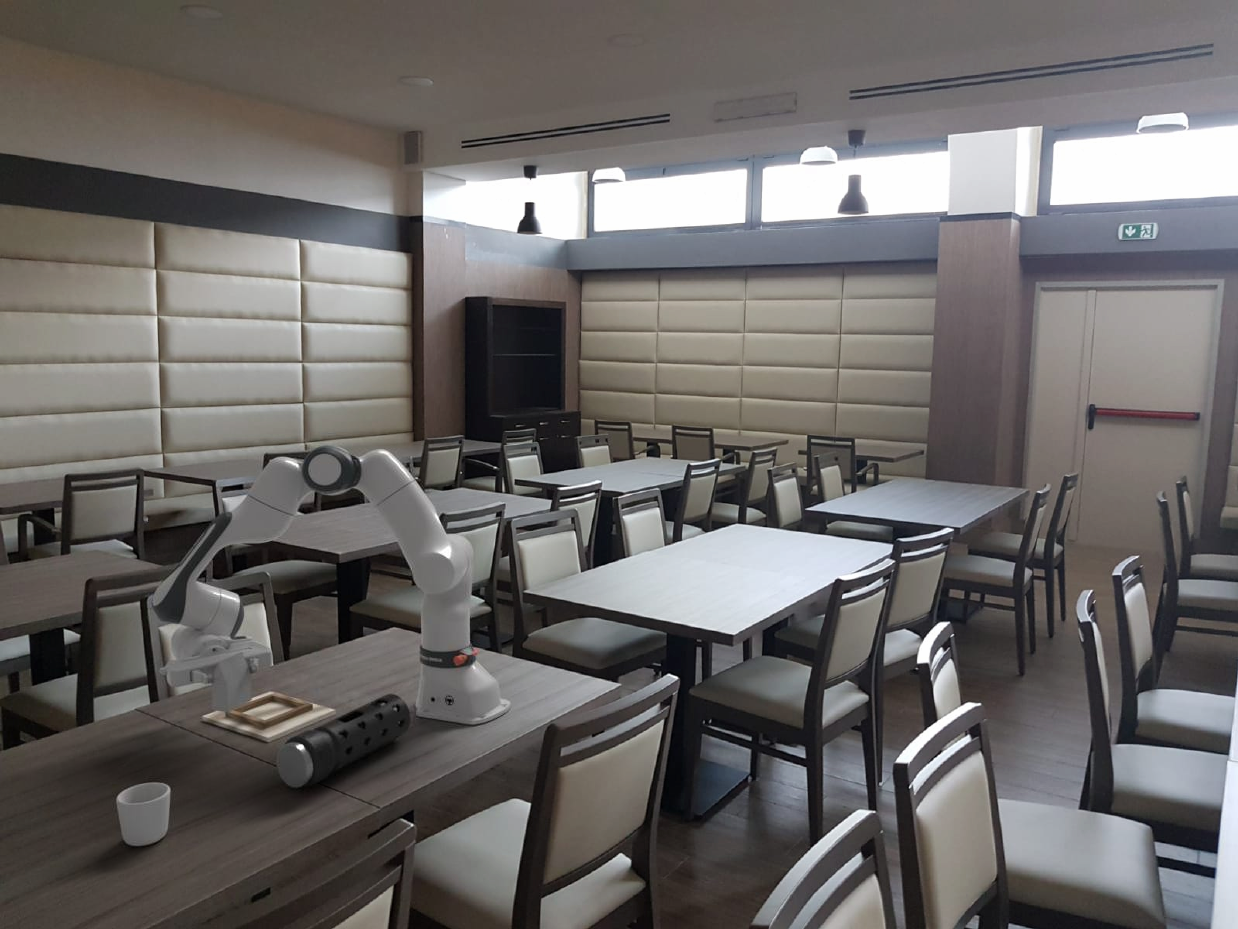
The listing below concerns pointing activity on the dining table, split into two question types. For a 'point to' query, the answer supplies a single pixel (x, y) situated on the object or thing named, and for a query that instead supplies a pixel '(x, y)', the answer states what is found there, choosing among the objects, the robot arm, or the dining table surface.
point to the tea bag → (231, 683)
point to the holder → (270, 716)
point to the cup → (144, 813)
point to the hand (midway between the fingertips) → (232, 675)
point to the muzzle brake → (341, 741)
